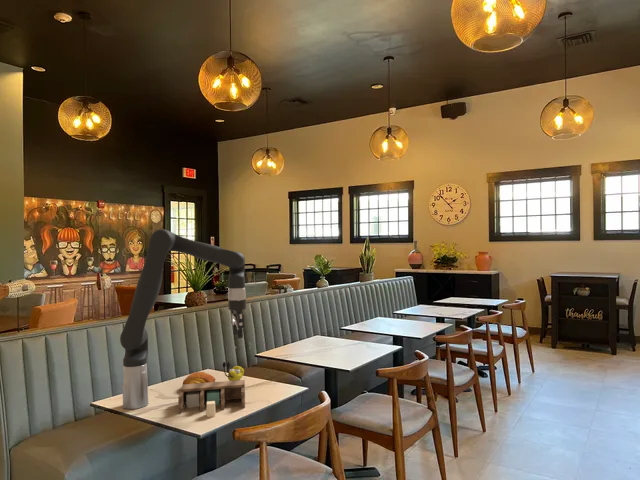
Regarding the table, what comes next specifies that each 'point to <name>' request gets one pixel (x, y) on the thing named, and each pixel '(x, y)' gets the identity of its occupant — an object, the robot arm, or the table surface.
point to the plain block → (193, 399)
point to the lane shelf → (226, 389)
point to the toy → (234, 372)
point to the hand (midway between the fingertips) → (237, 336)
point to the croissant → (199, 378)
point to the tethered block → (212, 401)
